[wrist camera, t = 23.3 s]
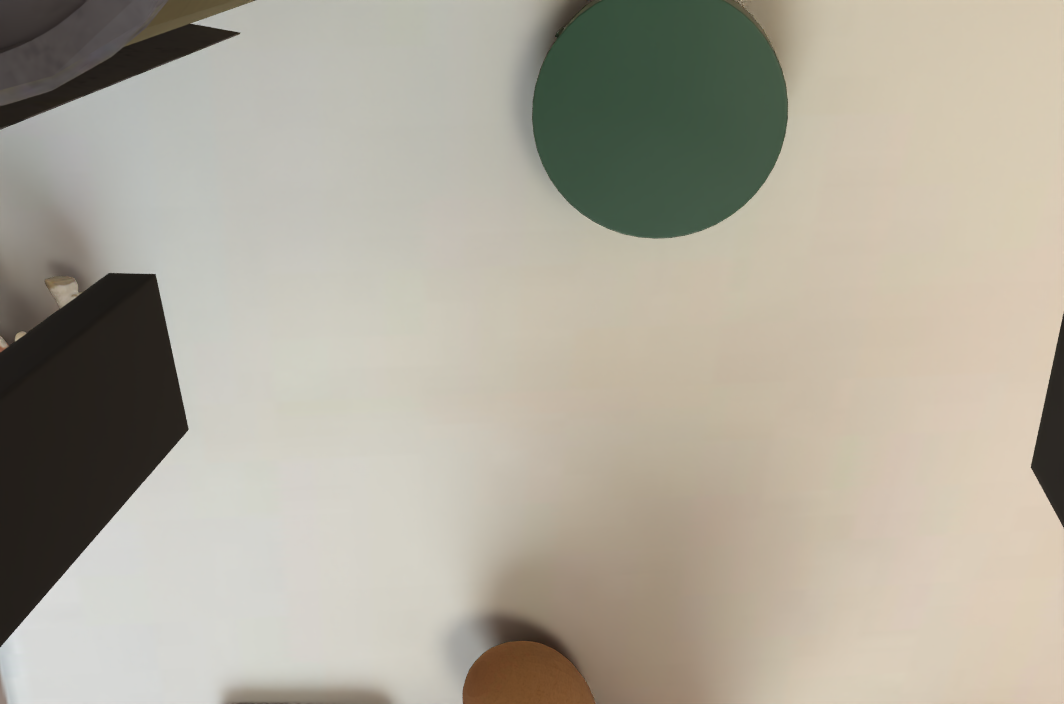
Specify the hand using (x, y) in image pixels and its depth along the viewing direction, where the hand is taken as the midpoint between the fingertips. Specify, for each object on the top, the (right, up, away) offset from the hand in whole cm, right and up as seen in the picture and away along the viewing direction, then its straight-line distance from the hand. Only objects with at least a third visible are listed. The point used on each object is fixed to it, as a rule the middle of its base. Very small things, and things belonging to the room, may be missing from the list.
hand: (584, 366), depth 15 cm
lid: (+3, +7, +14) cm, 16 cm away
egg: (-3, -11, +22) cm, 25 cm away
